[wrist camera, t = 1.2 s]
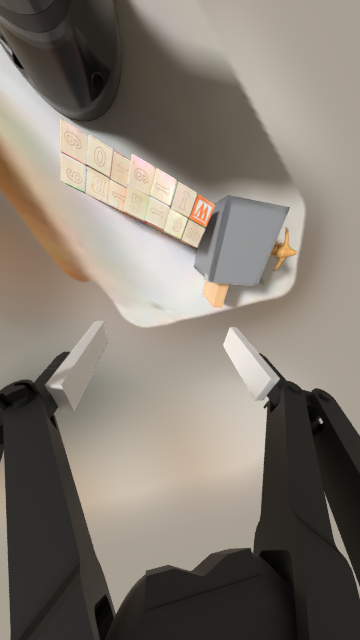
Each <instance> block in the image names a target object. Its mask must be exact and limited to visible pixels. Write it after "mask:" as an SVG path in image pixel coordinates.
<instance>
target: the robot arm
mask: <svg viewBox="0 0 360 640" xmlns="http://www.w3.org/2000/svg"><path fill="white" fill-rule="evenodd" d="M0 44H1V45H2V47H3V48H4V50H5V52H6V53H7V55H8V56H9V58H10V59H11V61H12V62H13V63H14V65H15V66H16V68H17V69H18V70H19V71H20V73H21V74H22V75H23V77H24V78H25V79H26V80H27V81H28V82H29V84H30V85H31V86H32V87H33V88H34V89H35V91H36V92H37V93H38V94H39V95H40V96H41V97H42V98H43V99H44V100H45V101H46V102H47V103H48V104H49V105H50V106H52V107H53V108H54V109H56V110H57V111H58V112H60V113H62V114H63V115H65V116H67V117H70V118H72V119H75V120H80V121H89V120H93V119H96V118H98V117H100V116H101V115H103V114H104V113H105V112H106V111H107V110H108V108H109V107H110V105H111V104H112V102H113V100H114V98H115V95H116V92H117V89H118V85H119V79H120V72H121V44H120V34H119V27H118V22H117V16H116V11H115V7H114V2H113V0H0ZM107 344H108V340H107V334H106V329H105V323H104V321H95V322H94V323H93V325H92V326H91V327H90V328H89V330H88V331H87V332H86V333H85V335H84V336H83V337H82V339H81V340H80V341H79V342H78V344H77V345H76V346H75V347H74V349H73V350H72V351H71V352H63V353H62V354H60V355H58V356H57V357H56V358H55V359H54V360H53V361H52V363H51V364H50V365H49V366H48V367H47V369H45V371H44V372H43V373H42V374H41V375H40V376H39V377H38V379H37V380H36V381H35V382H34V383H33V382H32V381H31V380H20V381H17V382H14V383H12V384H10V385H8V386H6V387H4V388H3V389H2V390H0V461H1V458H2V455H3V451H4V458H5V488H6V513H7V514H6V515H7V543H8V568H9V569H8V570H9V595H10V596H9V598H10V624H11V640H360V598H359V594H358V590H357V585H356V582H355V578H354V575H353V572H352V569H351V567H350V566H349V564H348V562H347V560H346V558H345V557H344V556H343V555H342V554H341V553H340V552H339V550H338V549H337V547H336V545H335V542H334V539H333V534H332V529H331V524H330V519H329V514H328V509H327V504H326V499H325V495H326V497H327V500H328V503H329V505H330V508H331V511H332V513H333V516H334V519H335V522H336V524H337V527H338V530H339V532H340V535H341V537H342V540H343V543H344V546H345V548H346V551H347V554H348V556H349V559H350V561H351V564H352V567H353V570H354V572H355V574H356V577H357V580H358V583H359V586H360V436H359V434H358V433H357V431H356V430H355V429H354V427H353V426H352V424H351V422H350V421H349V420H348V418H347V417H346V415H345V414H344V412H343V411H342V410H341V408H340V406H339V405H338V403H337V402H336V400H335V399H334V398H333V397H332V396H331V395H330V394H328V393H327V392H325V391H323V390H321V389H317V388H316V389H314V390H312V392H309V391H305V390H302V389H301V388H300V387H299V386H298V385H296V384H295V383H293V382H290V381H286V380H285V378H284V377H283V376H282V375H281V374H280V373H279V372H278V370H276V368H275V367H273V365H272V364H271V363H270V362H269V361H268V359H267V358H266V357H265V356H263V355H262V354H261V353H258V352H257V351H256V350H255V349H254V347H253V346H252V345H251V344H250V343H249V342H248V340H247V339H246V338H245V337H244V336H243V334H242V333H241V332H240V331H239V330H238V329H237V327H230V329H229V331H228V334H227V337H226V339H225V342H224V344H223V346H224V348H225V350H226V352H227V353H228V355H229V357H230V358H231V360H232V362H233V364H234V365H235V367H236V369H237V370H238V372H239V374H240V376H241V377H242V379H243V381H244V383H245V384H246V386H247V388H248V389H249V391H250V393H251V395H252V396H253V398H254V400H255V401H257V400H264V399H265V397H266V396H267V397H268V398H269V401H268V402H267V403H266V404H265V406H264V408H266V407H267V422H266V438H265V457H264V471H263V472H264V473H263V487H262V504H261V516H260V521H259V523H258V526H257V528H256V532H255V538H254V551H253V553H252V552H251V548H240V549H228V550H223V551H220V552H216V553H212V554H210V555H209V556H208V557H207V558H206V559H205V560H203V561H202V562H201V563H200V564H199V565H198V566H197V567H196V568H195V569H194V570H192V571H188V570H184V569H181V568H177V567H173V566H170V565H166V566H162V567H159V568H155V569H151V570H147V571H146V574H145V575H144V576H143V577H142V578H141V579H139V581H138V582H137V583H136V584H135V585H134V586H133V587H132V589H131V590H130V591H129V593H128V594H127V596H126V597H125V599H124V601H123V602H122V604H121V606H120V608H119V610H118V612H117V614H116V613H115V610H114V606H113V604H112V600H111V596H110V593H109V590H108V586H107V583H106V580H105V577H104V574H103V571H102V568H101V565H100V563H99V561H98V559H97V557H96V554H95V551H94V548H93V544H92V541H91V538H90V534H89V531H88V527H87V524H86V520H85V517H84V513H83V510H82V507H81V503H80V500H79V496H78V493H77V489H76V486H75V483H74V480H73V476H72V473H71V469H70V466H69V462H68V459H67V455H66V452H65V448H64V445H63V442H62V438H61V435H60V432H59V428H58V425H57V421H56V418H55V415H54V412H55V411H56V409H57V408H59V410H60V412H68V411H69V412H70V411H75V409H76V406H77V405H78V403H79V401H80V399H81V397H82V394H83V393H84V390H85V388H86V386H87V384H88V382H89V380H90V378H91V376H92V374H93V372H94V370H95V368H96V366H97V364H98V362H99V360H100V358H101V356H102V354H103V352H104V350H105V348H106V346H107ZM320 418H321V419H322V421H323V423H322V424H321V423H320V422H319V419H320ZM324 492H325V494H324Z"/></svg>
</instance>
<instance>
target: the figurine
mask: <svg viewBox="0 0 360 640" xmlns="http://www.w3.org/2000/svg"><path fill="white" fill-rule="evenodd" d="M285 228H286V227H285ZM288 241H289V234H288V228H286V232H285V243H284V244H282V243H280V244H278V242H277V241H276V242H275V245H274V247H273V249H272V252H271V254H270V256H272V255H275V258H279V259H280V260H279V262H278V264H277V266H276V267H275V269H274V270H273V271H275V270H276V269H278V267H279V266H280V265H281V263H282V262H283V261H284V260H285V259H286V258H287V257H289V256H292V255H295V254H296V253H297V252H296V251H295V250H293V249H291V248H290V246H289V242H288Z"/></svg>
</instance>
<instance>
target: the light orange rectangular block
mask: <svg viewBox="0 0 360 640" xmlns="http://www.w3.org/2000/svg"><path fill="white" fill-rule="evenodd" d="M228 287H229V284H221V283H209V282H207V281H205V286H204V291H203V295H204V296H205V297H206V299H207V300H208V301H209V303H210V304H211V305H212V307H219V308H222V307H223V303H224V300H225V297H226V293H227V290H228Z"/></svg>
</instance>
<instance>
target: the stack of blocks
mask: <svg viewBox="0 0 360 640" xmlns="http://www.w3.org/2000/svg"><path fill="white" fill-rule="evenodd" d="M60 151H61V181H62V182H63V183H65V184H67V185H69V186H71V187H73V188H75V189H77V190H79V191H81V192H83V193H85V194H87V195H89V196H91V197H93V198H95V199H97V200H99V201H101V202H103V203H105V204H107V205H109V206H111V207H113V208H115V209H117V210H119V211H121V212H123V213H125V214H127V215H129V216H131V217H133V218H135V219H137V220H139V221H141V222H143V223H145V224H147V225H149V226H152V227H153V228H155V229H157V230H159V231H161V232H163V233H165V234H167V235H169V236H171V237H172V238H174V239H176V240H178V241H180V242H182V243H184V244H186V245H190V246H192V247H196V248H197V247H198V245H199V242H200V240H201V238H202V236H203V233H204V231H205V227H206V226H207V224H208V222H209V219H210V217H211V215H212V212H213V210H214V208H215V204H213V203H212V202H210V201H208V200H207V199H205V198H203V197H202V196H200V195H198V194H197V192H195V191H193V190H192V189H190V188H188V187H187V186H185V185H183V184H182V183H180V182H177V180H176V179H175V178H173V177H172V176H170V175H168V174H167V173H165V172H163V171H162V170H160V169H158V168H155V167H154V166H153V165H151V164H149V163H148V162H146V161H144V160H143V159H141V158H139V157H138V156H136V155H134V154H132V155H131V161H130V160H129V159H127V158H126V157H124V156H122V155H121V154H119V153H117V152H116V151H114V149H112V148H111V147H109V146H108V145H106V144H105V143H103V142H101V141H100V140H98V139H97V138H95V137H93V136H92V135H90V134H86V133H85V132H83V131H81V130H80V129H78V128H76V127H75V126H73V125H72V124H70V123H68V122H67V121H65V120H64V119H62V118H60Z"/></svg>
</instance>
